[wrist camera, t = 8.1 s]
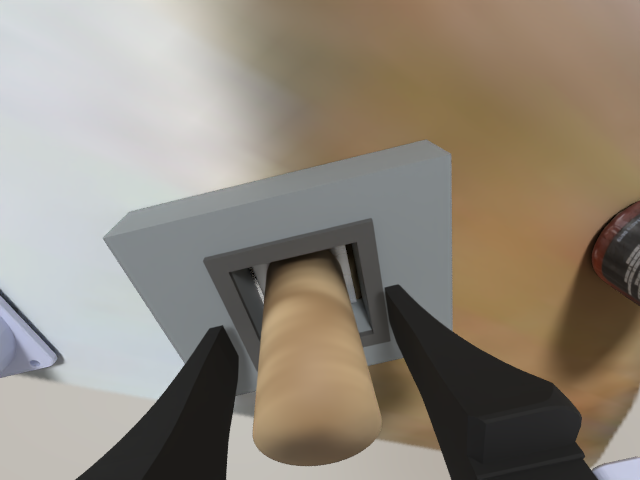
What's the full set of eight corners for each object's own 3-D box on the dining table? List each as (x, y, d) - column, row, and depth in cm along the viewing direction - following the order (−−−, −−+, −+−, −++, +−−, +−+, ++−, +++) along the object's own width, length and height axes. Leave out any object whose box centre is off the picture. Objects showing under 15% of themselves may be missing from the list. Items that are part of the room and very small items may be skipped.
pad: (274, 313, 19) (273, 321, 18) (247, 245, 16) (245, 251, 16) (354, 295, 18) (356, 301, 18) (339, 223, 16) (341, 228, 16)
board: (217, 364, 20) (208, 406, 18) (129, 211, 15) (98, 242, 12) (434, 315, 20) (454, 351, 18) (426, 139, 14) (454, 155, 12)
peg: (278, 314, 18) (274, 475, 11) (255, 256, 16) (233, 409, 9) (348, 297, 18) (388, 450, 11) (334, 236, 16) (372, 376, 9)
